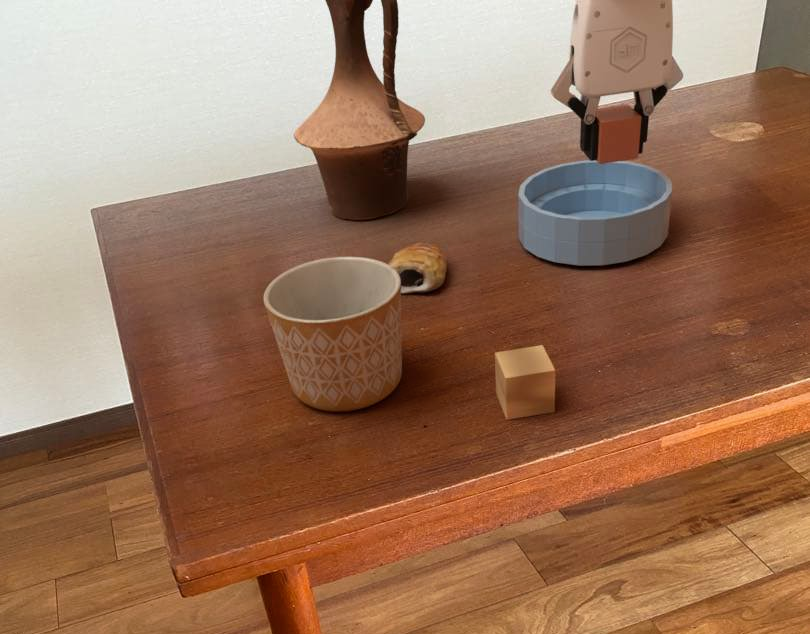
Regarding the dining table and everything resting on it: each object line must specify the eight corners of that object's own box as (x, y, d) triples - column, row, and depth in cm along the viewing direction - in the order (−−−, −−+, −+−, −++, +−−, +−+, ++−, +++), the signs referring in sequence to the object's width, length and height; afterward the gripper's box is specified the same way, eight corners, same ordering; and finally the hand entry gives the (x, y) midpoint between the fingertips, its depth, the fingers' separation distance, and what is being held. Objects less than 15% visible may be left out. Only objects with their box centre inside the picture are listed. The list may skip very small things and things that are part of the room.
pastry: (401, 258, 107) (398, 228, 105) (455, 259, 106) (454, 228, 103) (383, 295, 101) (379, 264, 98) (441, 297, 99) (439, 265, 97)
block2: (625, 145, 102) (628, 103, 99) (638, 158, 99) (641, 116, 96) (587, 151, 102) (589, 109, 99) (599, 164, 99) (601, 122, 96)
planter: (277, 365, 92) (256, 271, 85) (395, 341, 93) (384, 246, 86) (293, 432, 83) (271, 333, 76) (424, 404, 84) (414, 304, 77)
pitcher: (458, 194, 121) (445, -49, 102) (378, 242, 112) (347, -14, 93) (362, 173, 130) (334, -53, 111) (281, 216, 121) (234, -22, 102)
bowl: (638, 199, 113) (642, 151, 109) (689, 256, 101) (695, 204, 97) (505, 219, 113) (504, 172, 109) (539, 280, 100) (539, 228, 96)
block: (542, 386, 84) (542, 344, 81) (554, 412, 81) (555, 370, 78) (495, 393, 84) (494, 352, 81) (506, 420, 81) (505, 378, 78)
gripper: (550, -16, 85) (548, 176, 97) (721, -40, 86) (697, 153, 98) (531, -30, 91) (531, 153, 103) (692, -53, 91) (673, 132, 103)
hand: (612, 151), depth 100 cm, fingers closed on block2, 4 cm apart
